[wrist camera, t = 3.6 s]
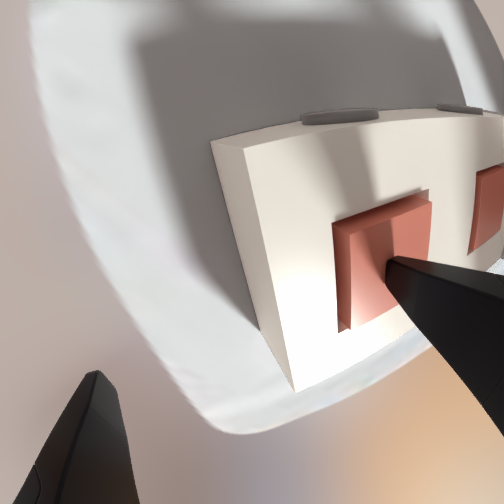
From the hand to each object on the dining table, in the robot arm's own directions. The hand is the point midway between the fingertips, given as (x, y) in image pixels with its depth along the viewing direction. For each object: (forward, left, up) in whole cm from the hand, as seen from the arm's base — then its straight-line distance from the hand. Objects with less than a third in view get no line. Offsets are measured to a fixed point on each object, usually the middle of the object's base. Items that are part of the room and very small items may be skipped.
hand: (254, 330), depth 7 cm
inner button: (-13, 0, -2) cm, 13 cm away
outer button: (-5, 0, -2) cm, 5 cm away
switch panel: (-9, 0, -4) cm, 10 cm away
